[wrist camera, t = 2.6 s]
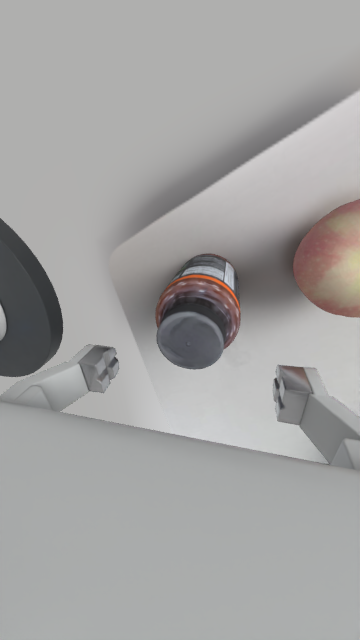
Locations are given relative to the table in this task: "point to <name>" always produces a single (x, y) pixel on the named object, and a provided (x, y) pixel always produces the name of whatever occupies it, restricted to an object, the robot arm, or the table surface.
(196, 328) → the supplement bottle
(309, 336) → the table surface
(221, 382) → the table surface
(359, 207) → the apple
